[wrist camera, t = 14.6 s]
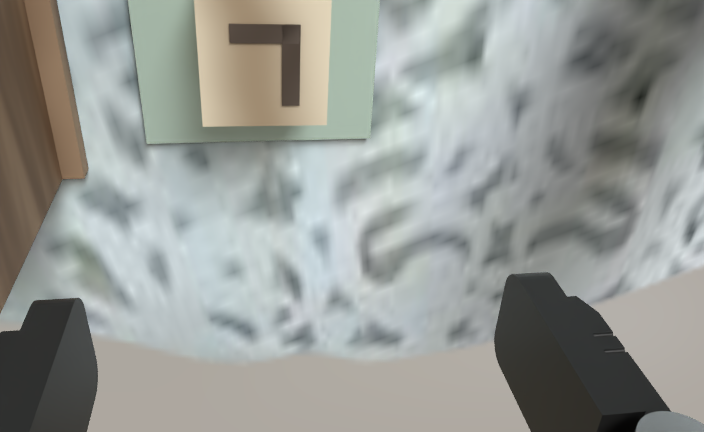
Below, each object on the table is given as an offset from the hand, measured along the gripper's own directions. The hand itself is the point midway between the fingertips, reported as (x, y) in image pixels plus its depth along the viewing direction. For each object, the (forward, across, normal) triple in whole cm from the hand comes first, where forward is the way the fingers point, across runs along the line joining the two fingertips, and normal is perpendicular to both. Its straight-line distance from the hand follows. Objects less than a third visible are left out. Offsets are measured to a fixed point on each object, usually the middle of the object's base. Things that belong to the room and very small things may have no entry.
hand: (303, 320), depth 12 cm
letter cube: (+20, 0, 0) cm, 20 cm away
